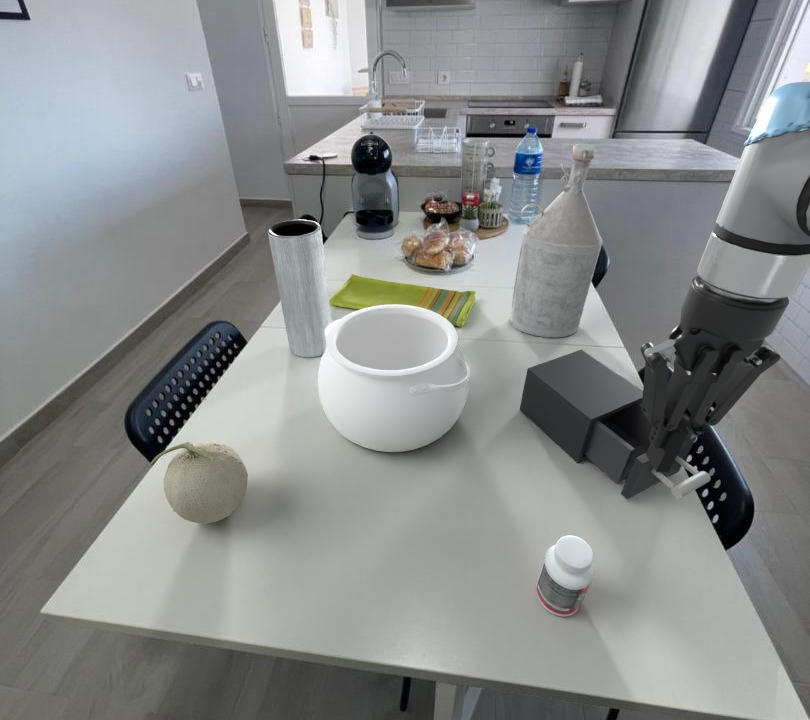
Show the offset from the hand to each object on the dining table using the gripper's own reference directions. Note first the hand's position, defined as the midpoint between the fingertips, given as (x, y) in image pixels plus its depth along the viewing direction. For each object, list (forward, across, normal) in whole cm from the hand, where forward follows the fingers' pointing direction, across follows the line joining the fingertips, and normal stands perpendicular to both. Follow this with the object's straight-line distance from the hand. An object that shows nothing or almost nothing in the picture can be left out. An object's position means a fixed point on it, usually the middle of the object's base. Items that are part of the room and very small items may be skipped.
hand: (657, 463), depth 54 cm
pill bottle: (+15, +12, +8) cm, 20 cm away
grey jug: (+14, -4, -56) cm, 58 cm away
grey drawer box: (+14, 0, -22) cm, 26 cm away
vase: (+14, +50, -48) cm, 71 cm away
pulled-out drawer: (+13, -5, -11) cm, 18 cm away
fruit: (+15, +59, -6) cm, 61 cm away
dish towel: (+14, +30, -68) cm, 75 cm away
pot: (+15, +32, -26) cm, 44 cm away
